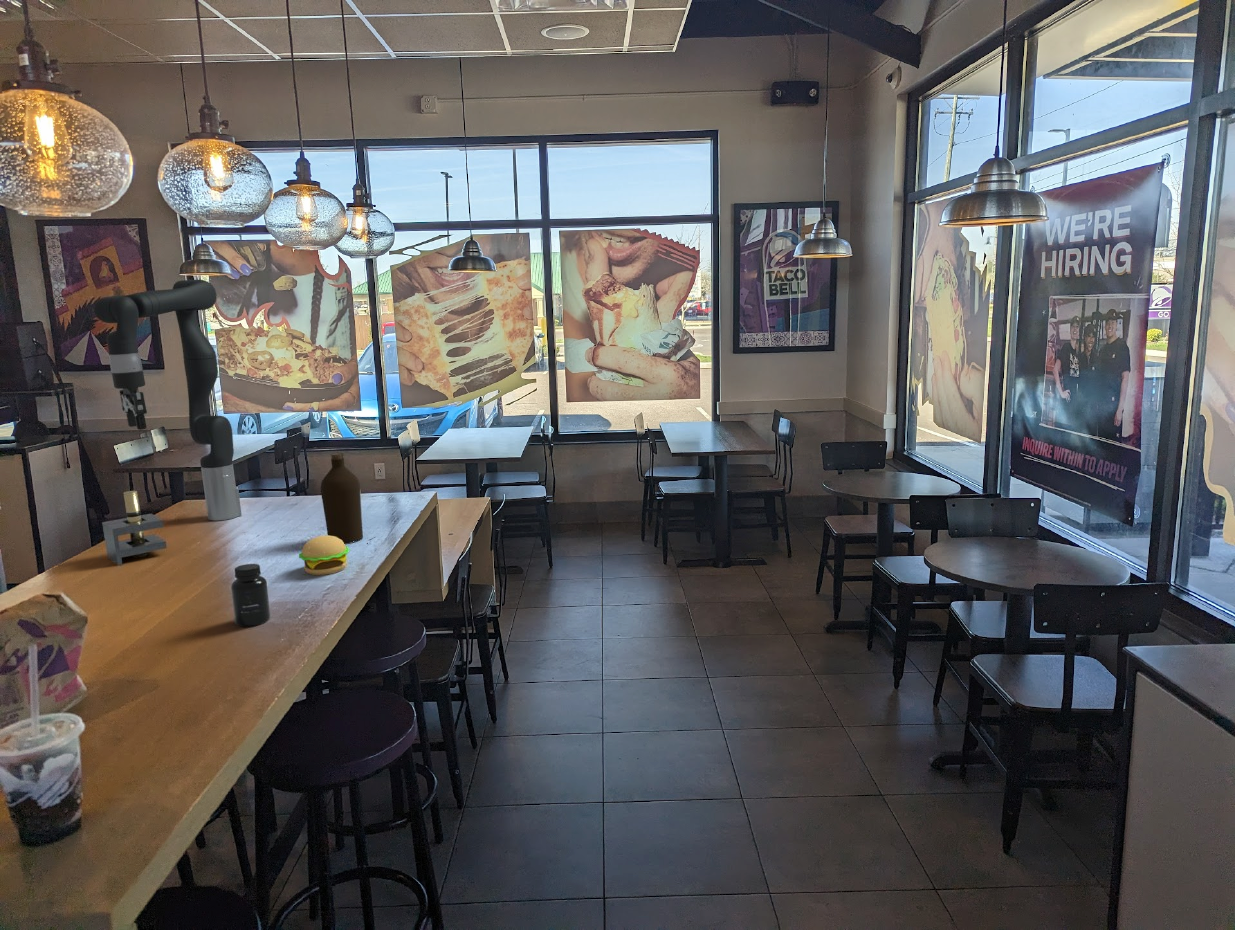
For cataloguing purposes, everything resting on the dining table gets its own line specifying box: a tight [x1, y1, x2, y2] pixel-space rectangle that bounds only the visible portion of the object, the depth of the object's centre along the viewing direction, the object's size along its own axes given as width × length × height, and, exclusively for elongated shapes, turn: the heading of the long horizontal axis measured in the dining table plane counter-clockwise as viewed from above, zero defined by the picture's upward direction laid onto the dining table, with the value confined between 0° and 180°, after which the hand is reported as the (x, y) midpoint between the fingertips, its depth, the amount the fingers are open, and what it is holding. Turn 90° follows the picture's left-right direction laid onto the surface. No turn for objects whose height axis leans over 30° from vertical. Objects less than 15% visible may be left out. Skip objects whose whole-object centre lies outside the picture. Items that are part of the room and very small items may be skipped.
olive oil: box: [320, 452, 364, 544], centre depth 227 cm, size 11×11×25 cm
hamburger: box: [298, 534, 350, 576], centre depth 202 cm, size 12×12×9 cm
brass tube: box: [123, 490, 148, 559], centre depth 219 cm, size 3×3×18 cm
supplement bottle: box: [230, 563, 271, 628], centre depth 168 cm, size 7×7×12 cm
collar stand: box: [101, 513, 168, 566], centre depth 219 cm, size 12×11×10 cm
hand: (137, 427), depth 226 cm, fingers open, 8 cm apart
